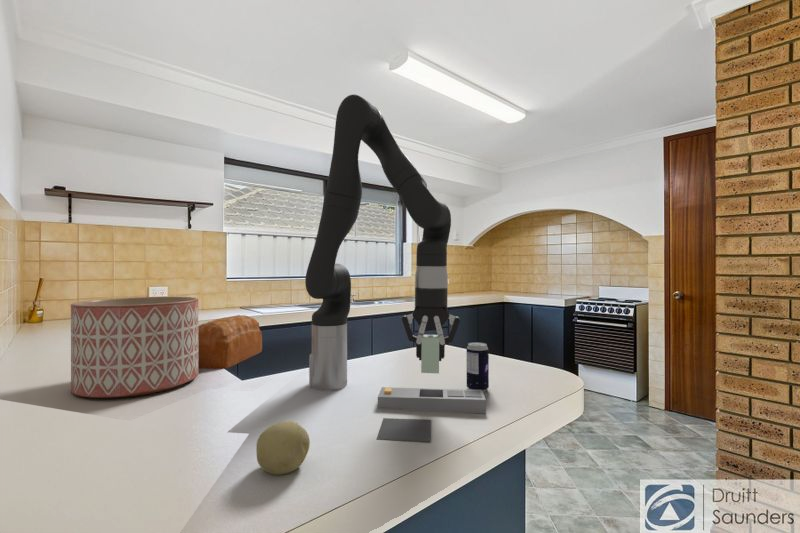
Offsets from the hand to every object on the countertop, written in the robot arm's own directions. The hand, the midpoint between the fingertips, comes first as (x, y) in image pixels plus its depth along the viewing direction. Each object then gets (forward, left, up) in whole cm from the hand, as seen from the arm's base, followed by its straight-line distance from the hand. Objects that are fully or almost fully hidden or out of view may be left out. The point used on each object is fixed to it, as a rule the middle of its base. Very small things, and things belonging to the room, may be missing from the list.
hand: (430, 359), depth 90 cm
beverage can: (+12, +13, -11) cm, 21 cm away
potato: (-23, -31, -11) cm, 40 cm away
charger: (0, 0, -3) cm, 3 cm away
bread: (-68, +34, -11) cm, 77 cm away
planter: (-76, +5, -11) cm, 77 cm away
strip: (0, 0, -11) cm, 11 cm away
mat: (-5, -14, -11) cm, 18 cm away
